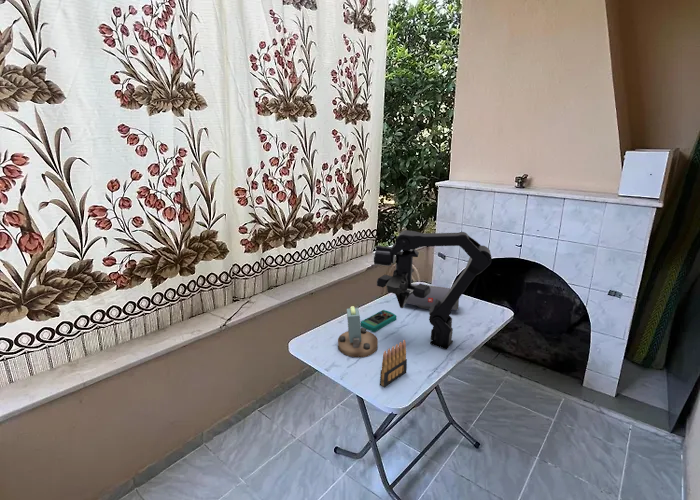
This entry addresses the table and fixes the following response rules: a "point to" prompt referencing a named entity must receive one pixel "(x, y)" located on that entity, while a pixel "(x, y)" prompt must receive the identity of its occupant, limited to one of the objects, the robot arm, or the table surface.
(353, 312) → the post
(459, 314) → the table surface
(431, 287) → the bluetooth speaker
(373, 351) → the levelling base
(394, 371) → the ammunition clip
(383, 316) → the digital multimeter
